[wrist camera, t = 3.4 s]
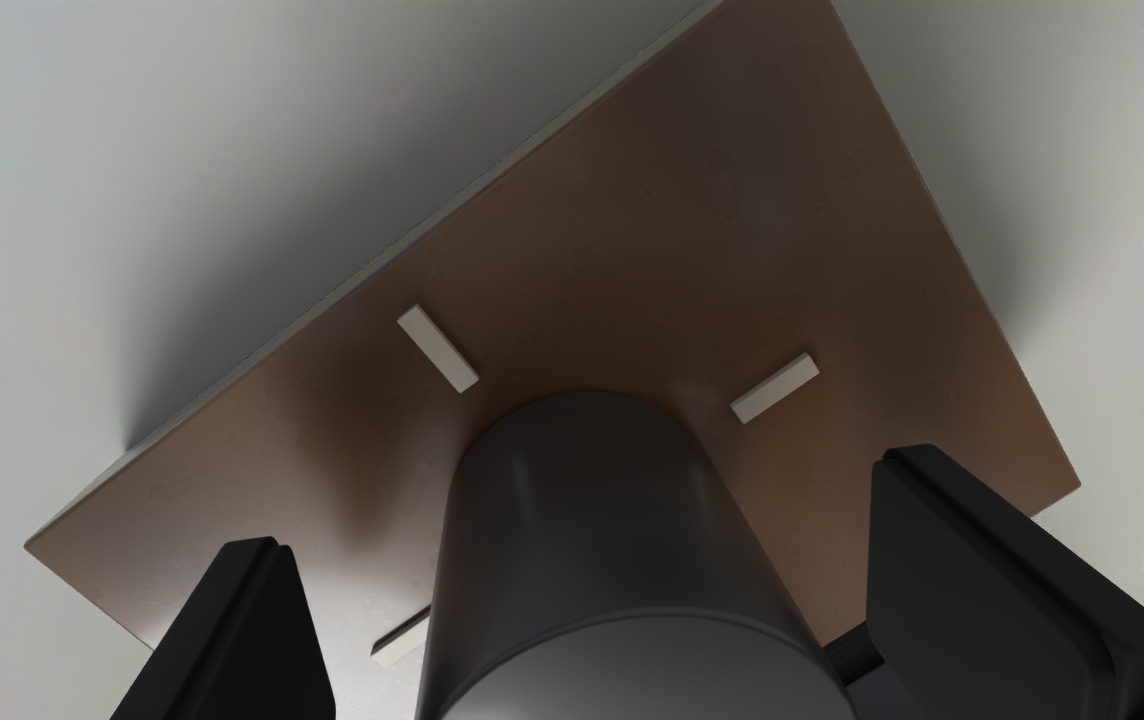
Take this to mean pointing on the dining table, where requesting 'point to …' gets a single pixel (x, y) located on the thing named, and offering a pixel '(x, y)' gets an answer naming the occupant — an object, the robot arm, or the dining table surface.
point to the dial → (610, 582)
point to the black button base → (869, 678)
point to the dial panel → (598, 351)
